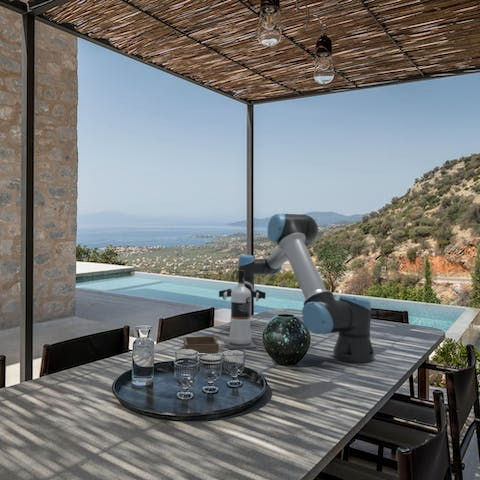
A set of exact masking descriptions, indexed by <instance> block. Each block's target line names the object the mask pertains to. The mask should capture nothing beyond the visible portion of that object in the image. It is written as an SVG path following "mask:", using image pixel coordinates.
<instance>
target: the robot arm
mask: <svg viewBox="0 0 480 480" xmlns="http://www.w3.org/2000/svg"><path fill="white" fill-rule="evenodd" d="M318 234H319V227H318V223H317V222H316V220H315V219H314V218H313V217H312V216H310V215H308V214H298V213H297V214H296V213H295V214H294V213H283V212H282V213H276V214H273V215H272V216H271V217H270V219H269V221H268V225H267V236H268V237H267V238H268V239H269V240H270V242H272V243H277V245H278V247H277V248H276V249H275V250H274V251H273V252H272V253H270V254H269V255H268V256H267V257H266V258H261V259H260V258H255V256H254V255H250V254H249V255H248V254H243V255H239V257H238V265H237V266H238V271H239V270H244V271H245V272H244V273H245V275H244V286H245V287H246V288H247V289H249V290H250V291H251V298H255V301H256V302H259V299H260V300H261V299H263V300H265V299H266V292H264V291H262V290H259V289H255V284H254V283H255V282H254V281H255V276H256V275H257V276H259V275H276V274H279V273H281V270H282V266H283V265H284V264H285V263H287V261H288V262H289V263H290V266H291V269H292V270H293V273H294V276H295V278H296V280H297V282H298V285H299V287H300V290H301V292H302V294H303V296H304V299H305V300H304V302H303V307H302V309H301V310H302V311H301V314H302V317H301V318H302V323H303V324H304V326H305V327H306V329H307V330H308V331H310V332H311V333H312V334H315V335H327V334H333V333H338V337H337V340H336V342H335V345H334V348H333V350H332V351H333V353H332V354H333V357H334V358H335V359H337V360H339V361H343V362H349V363H356V364H357V363H370V362H373V361H374V360H375V351H374V347H373V345H372V344H373V343H372V342H371V320H372V318H371V317H372V308H371V307H372V305H371V301H370V300H369V299H368V298H364V297H357V296H351V295H340V296H339V298H338V299H337V300H336V298H335V296H334V293H333V292H332V291H330V290H327V288H326V286H325V284H324V282H323V280H322V278H321V276H320V274H319V271H318V269H317V268H316V267H317V266H316V265H315V263H314V260H313V258H312V256H311V254H310V251H309V250H308V247H309V246H310V245H311V244H312V243H313V242H314V241H315V239H316V238H317V236H318ZM232 290H233V289H232V288H227V289H224V290H223V289H222V290H219V291H218V297H219V298H222V299H223V301H226V300H227V298H228V297H229V298H231V292H232Z"/></svg>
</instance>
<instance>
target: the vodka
mask: <svg viewBox="0 0 480 480" xmlns="http://www.w3.org/2000/svg"><path fill="white" fill-rule="evenodd" d="M244 272H245V271H244V270H239V269H238V272H237V273H238V275H237V277H238V279H237V286H236V287H235V288H233V289H232V292H231V297H230V298H231V299H230V331H229V335H228V339H229V342H230V343H232V344H235V345H246V344H249V343H250V342H251V340H252V335H251V320H252V319H251V307H252V306H251V304H252V303H251V301H252V297H251V291H250V290H249V289H247V288H246V287H245V286H244V275H245V273H244Z"/></svg>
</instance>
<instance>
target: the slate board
mask: <svg viewBox="0 0 480 480" xmlns="http://www.w3.org/2000/svg"><path fill="white" fill-rule="evenodd" d="M224 342H226V343H227V345H228V346H227V345H226V346H227V348H228V347H229V348H228V350H229V349H238V350H237V351H239V350H244V351H245V350H257V348H258V346H257V345H256V344H255V343H254V341H253V340H252V339H251V342H250V343H249V344H246V345H235V344H232V343H230V342H229V338H224ZM226 343H225V344H226Z"/></svg>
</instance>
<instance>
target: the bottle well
mask: <svg viewBox="0 0 480 480" xmlns="http://www.w3.org/2000/svg"><path fill="white" fill-rule="evenodd" d="M182 344H183V350H184V349H193V350H196V351H198V352H199V353H220V352H219V351H220V350H219V349H220V347H219V346H220V344H219V342H218V340H217V338H216V336H215V335H213V336H211V335H210V336H183V343H182Z"/></svg>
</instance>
